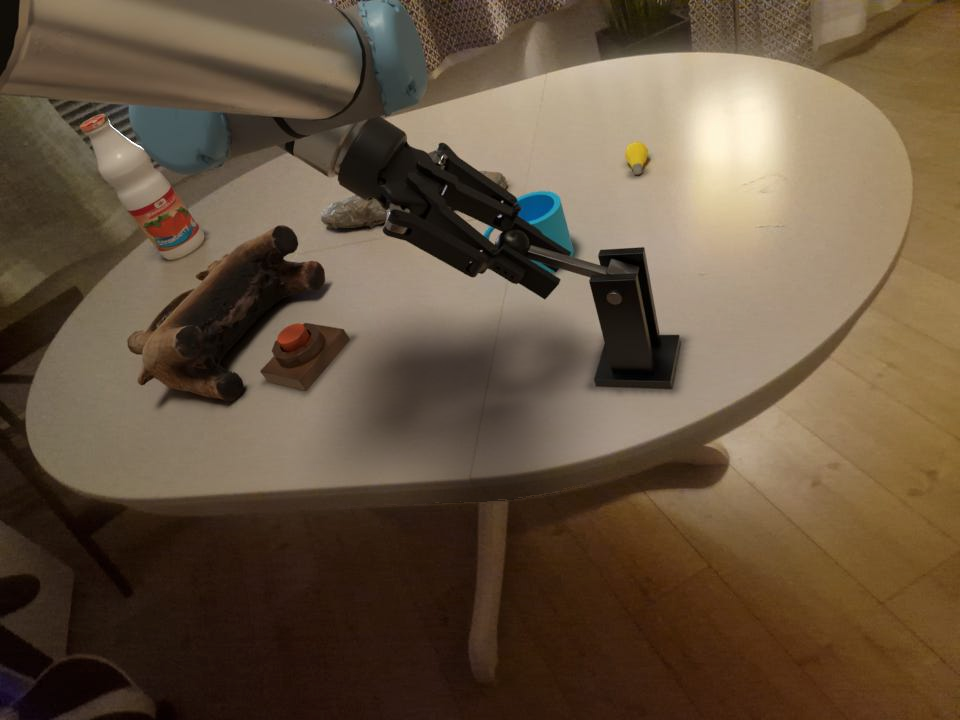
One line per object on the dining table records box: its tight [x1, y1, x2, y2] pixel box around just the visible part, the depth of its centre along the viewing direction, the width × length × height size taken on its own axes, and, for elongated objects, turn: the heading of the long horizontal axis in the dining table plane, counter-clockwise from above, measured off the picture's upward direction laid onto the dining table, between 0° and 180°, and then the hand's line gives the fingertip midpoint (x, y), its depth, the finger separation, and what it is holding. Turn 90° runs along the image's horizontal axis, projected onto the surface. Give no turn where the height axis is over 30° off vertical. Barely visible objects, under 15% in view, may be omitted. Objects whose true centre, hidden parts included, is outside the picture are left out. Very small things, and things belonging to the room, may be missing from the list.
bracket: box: [588, 246, 681, 390], centre depth 66 cm, size 8×7×14 cm
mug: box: [482, 190, 575, 274], centre depth 89 cm, size 12×8×8 cm
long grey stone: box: [320, 170, 508, 230], centre depth 113 cm, size 35×5×10 cm
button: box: [276, 322, 310, 353], centre depth 88 cm, size 4×4×2 cm
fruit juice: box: [79, 113, 206, 261], centre depth 125 cm, size 9×9×28 cm
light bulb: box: [624, 141, 649, 176], centre depth 99 cm, size 3×6×4 cm, turn 170°
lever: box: [494, 229, 639, 279], centre depth 64 cm, size 14×4×4 cm, turn 70°
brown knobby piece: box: [126, 224, 326, 402], centre depth 99 cm, size 13×31×25 cm
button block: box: [260, 322, 351, 392], centre depth 89 cm, size 10×8×4 cm
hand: (557, 275), depth 65 cm, fingers closed on lever, 4 cm apart
